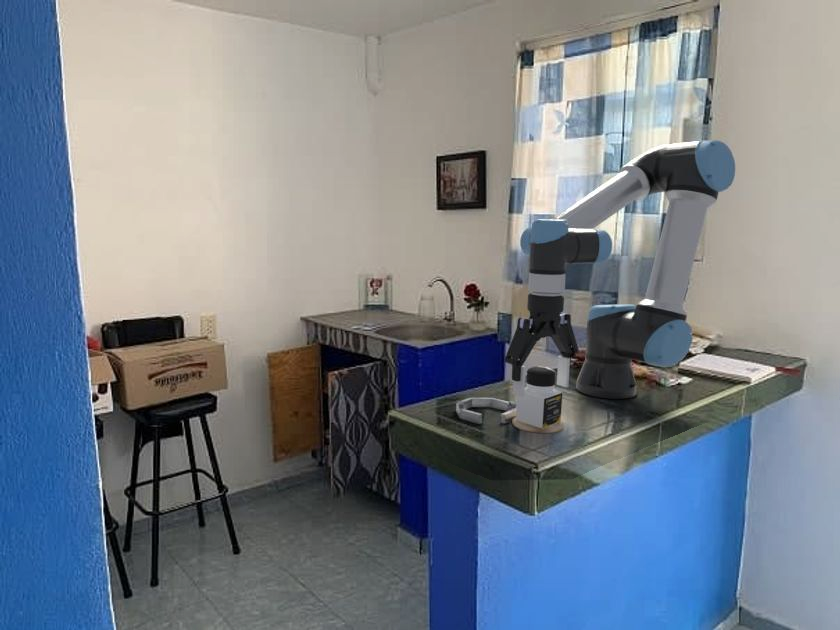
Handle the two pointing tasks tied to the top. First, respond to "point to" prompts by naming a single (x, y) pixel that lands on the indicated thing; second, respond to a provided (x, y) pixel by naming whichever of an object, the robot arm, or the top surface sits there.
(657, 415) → the top surface
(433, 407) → the top surface
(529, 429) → the disc
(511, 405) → the collar
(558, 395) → the medicine bottle
